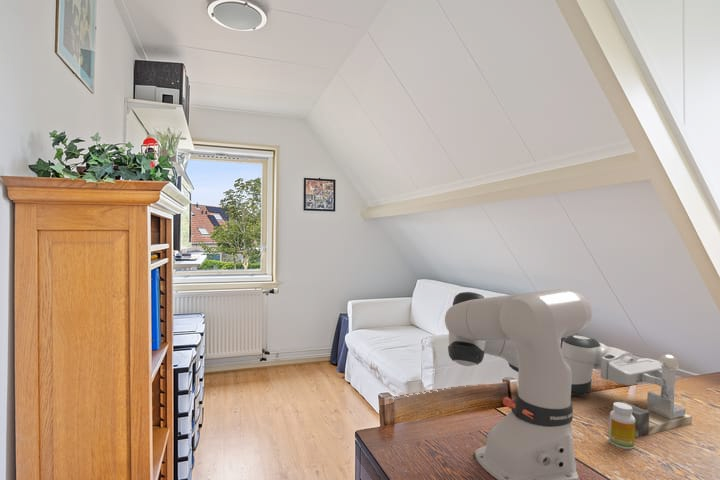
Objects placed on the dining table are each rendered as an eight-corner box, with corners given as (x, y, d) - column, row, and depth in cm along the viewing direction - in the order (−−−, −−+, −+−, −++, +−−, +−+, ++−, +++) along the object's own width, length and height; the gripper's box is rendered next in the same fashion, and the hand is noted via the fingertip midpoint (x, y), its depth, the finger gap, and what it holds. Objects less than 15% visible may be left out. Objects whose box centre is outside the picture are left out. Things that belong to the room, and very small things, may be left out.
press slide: (669, 419, 107) (672, 359, 107) (646, 409, 113) (649, 352, 112) (685, 415, 110) (688, 356, 109) (662, 406, 115) (664, 350, 115)
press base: (638, 437, 102) (639, 414, 102) (612, 424, 109) (612, 403, 108) (691, 423, 110) (692, 402, 110) (664, 411, 117) (665, 391, 116)
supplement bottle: (638, 451, 96) (640, 411, 96) (613, 448, 97) (615, 409, 97) (628, 439, 101) (629, 402, 101) (604, 436, 102) (606, 399, 102)
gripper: (641, 369, 128) (691, 387, 115) (597, 378, 120) (644, 398, 107) (643, 350, 127) (692, 366, 115) (598, 358, 120) (645, 375, 107)
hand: (668, 381), depth 111 cm, fingers closed on press slide, 3 cm apart
